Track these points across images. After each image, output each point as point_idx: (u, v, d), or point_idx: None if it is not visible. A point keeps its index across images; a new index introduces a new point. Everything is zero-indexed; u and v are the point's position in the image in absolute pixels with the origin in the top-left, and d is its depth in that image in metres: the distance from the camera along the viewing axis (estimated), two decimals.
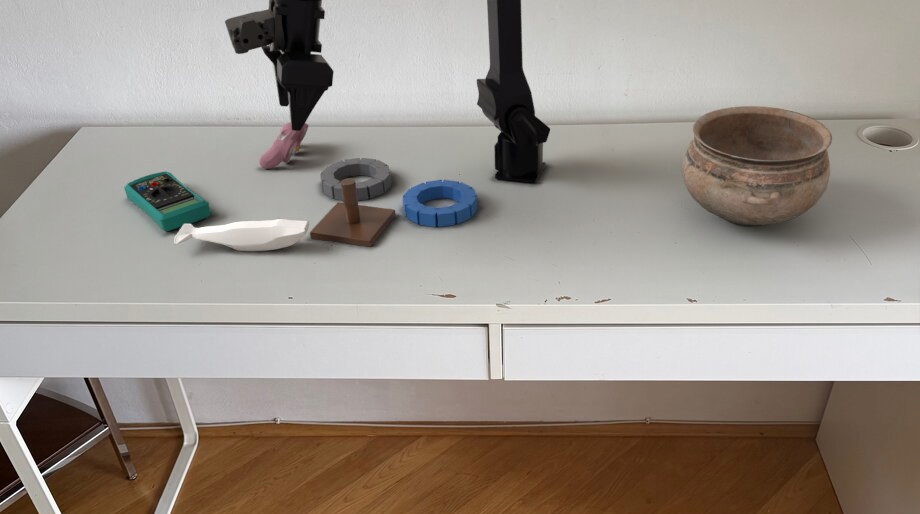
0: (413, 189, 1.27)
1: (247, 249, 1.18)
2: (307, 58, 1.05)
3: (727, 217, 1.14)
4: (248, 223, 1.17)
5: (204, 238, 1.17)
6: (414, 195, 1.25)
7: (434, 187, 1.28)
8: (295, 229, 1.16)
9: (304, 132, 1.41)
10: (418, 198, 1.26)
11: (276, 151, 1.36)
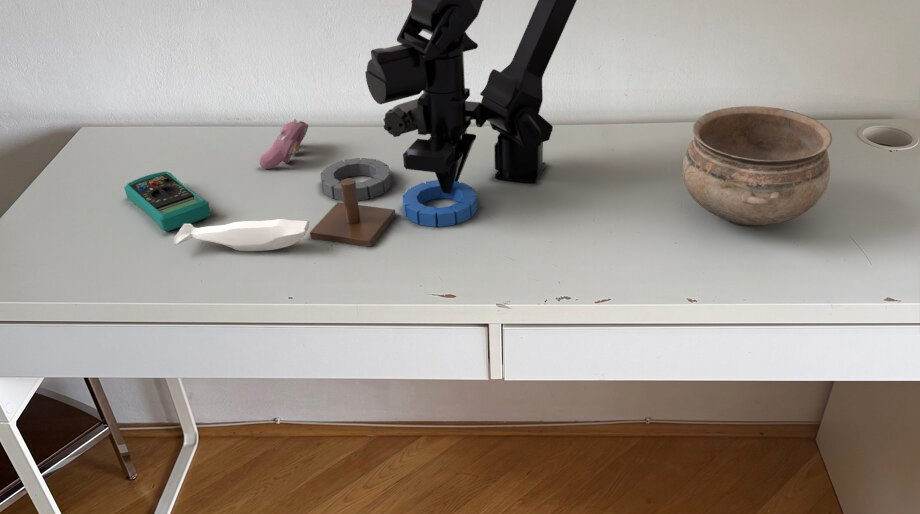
0: (413, 189, 1.27)
1: (247, 249, 1.18)
2: (427, 146, 1.17)
3: (727, 217, 1.14)
4: (248, 223, 1.17)
5: (204, 238, 1.17)
6: (414, 195, 1.26)
7: (434, 187, 1.28)
8: (295, 229, 1.16)
9: (304, 132, 1.41)
10: (418, 198, 1.26)
11: (276, 151, 1.36)
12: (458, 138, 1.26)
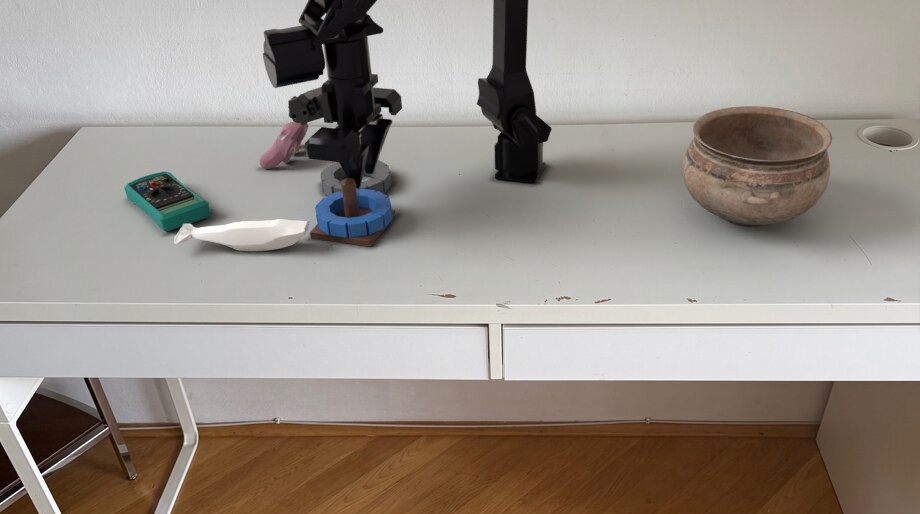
0: (327, 198, 1.24)
1: (247, 249, 1.18)
2: (330, 135, 1.11)
3: (727, 217, 1.14)
4: (248, 223, 1.17)
5: (204, 238, 1.17)
6: (327, 204, 1.22)
7: None
8: (295, 229, 1.16)
9: (304, 132, 1.41)
10: (332, 207, 1.23)
11: (276, 151, 1.36)
12: (373, 123, 1.21)
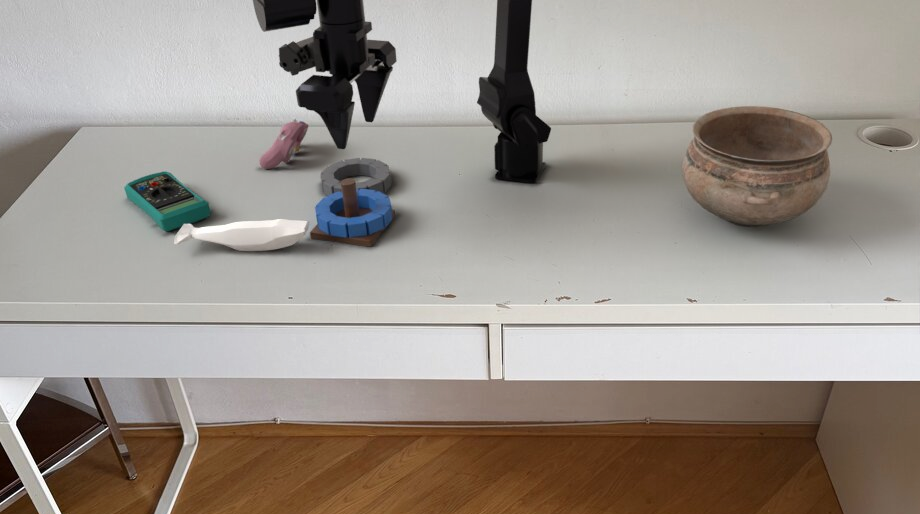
0: (327, 198, 1.24)
1: (247, 249, 1.18)
2: (322, 82, 1.08)
3: (727, 217, 1.14)
4: (248, 223, 1.17)
5: (204, 238, 1.17)
6: (327, 204, 1.22)
7: None
8: (295, 229, 1.16)
9: (304, 132, 1.41)
10: (332, 207, 1.23)
11: (276, 151, 1.36)
12: (373, 69, 1.19)
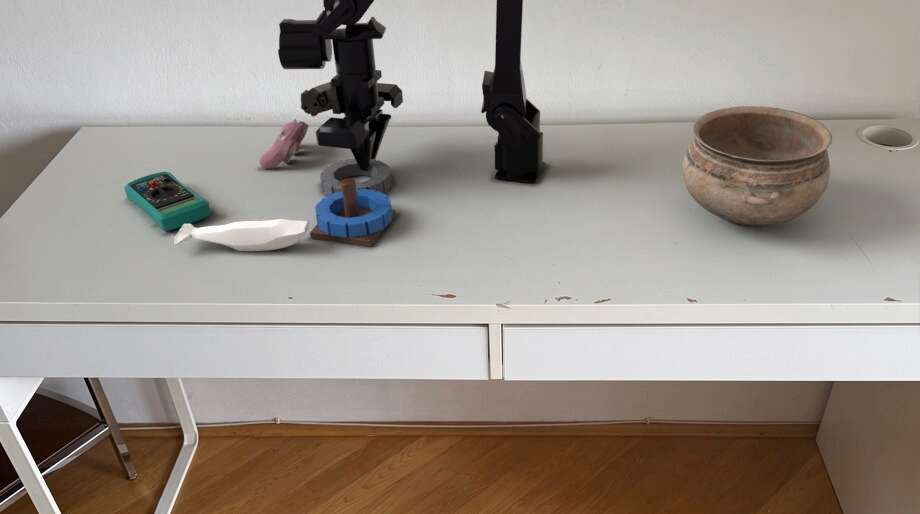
0: (327, 198, 1.24)
1: (247, 249, 1.18)
2: (338, 124, 1.24)
3: (727, 217, 1.14)
4: (248, 223, 1.17)
5: (204, 238, 1.17)
6: (327, 204, 1.22)
7: None
8: (295, 229, 1.16)
9: (304, 132, 1.41)
10: (332, 207, 1.23)
11: (276, 151, 1.36)
12: (373, 118, 1.33)
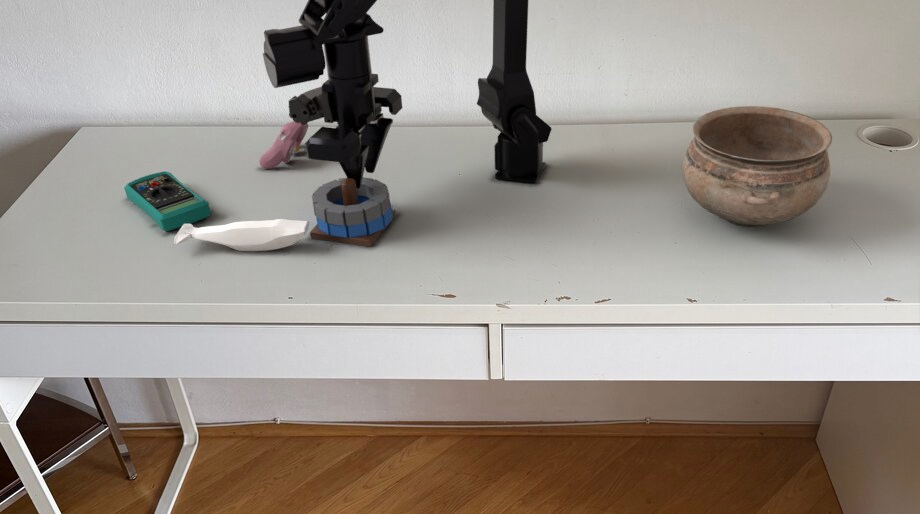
0: None
1: (247, 249, 1.18)
2: (330, 135, 1.12)
3: (727, 217, 1.14)
4: (248, 223, 1.17)
5: (204, 238, 1.17)
6: None
7: None
8: (295, 229, 1.16)
9: (304, 132, 1.41)
10: None
11: (276, 151, 1.36)
12: (373, 122, 1.21)
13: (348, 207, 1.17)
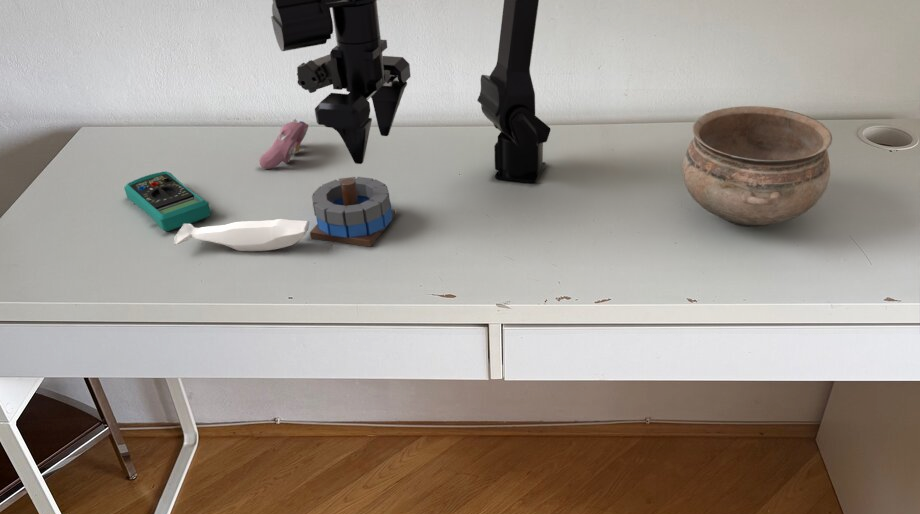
0: None
1: (247, 249, 1.18)
2: (340, 100, 1.11)
3: (727, 217, 1.14)
4: (248, 223, 1.17)
5: (204, 238, 1.17)
6: None
7: None
8: (295, 229, 1.16)
9: (304, 132, 1.41)
10: None
11: (276, 151, 1.36)
12: (388, 85, 1.22)
13: (348, 207, 1.17)
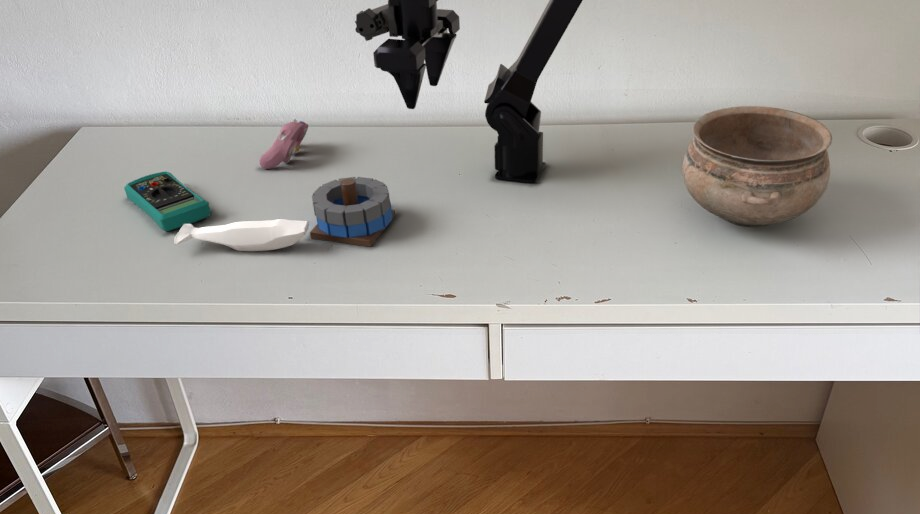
0: None
1: (247, 249, 1.18)
2: (397, 44, 1.17)
3: (727, 217, 1.14)
4: (248, 223, 1.17)
5: (204, 238, 1.17)
6: None
7: None
8: (295, 229, 1.16)
9: (304, 132, 1.41)
10: None
11: (276, 151, 1.36)
12: (439, 36, 1.29)
13: (348, 207, 1.17)
